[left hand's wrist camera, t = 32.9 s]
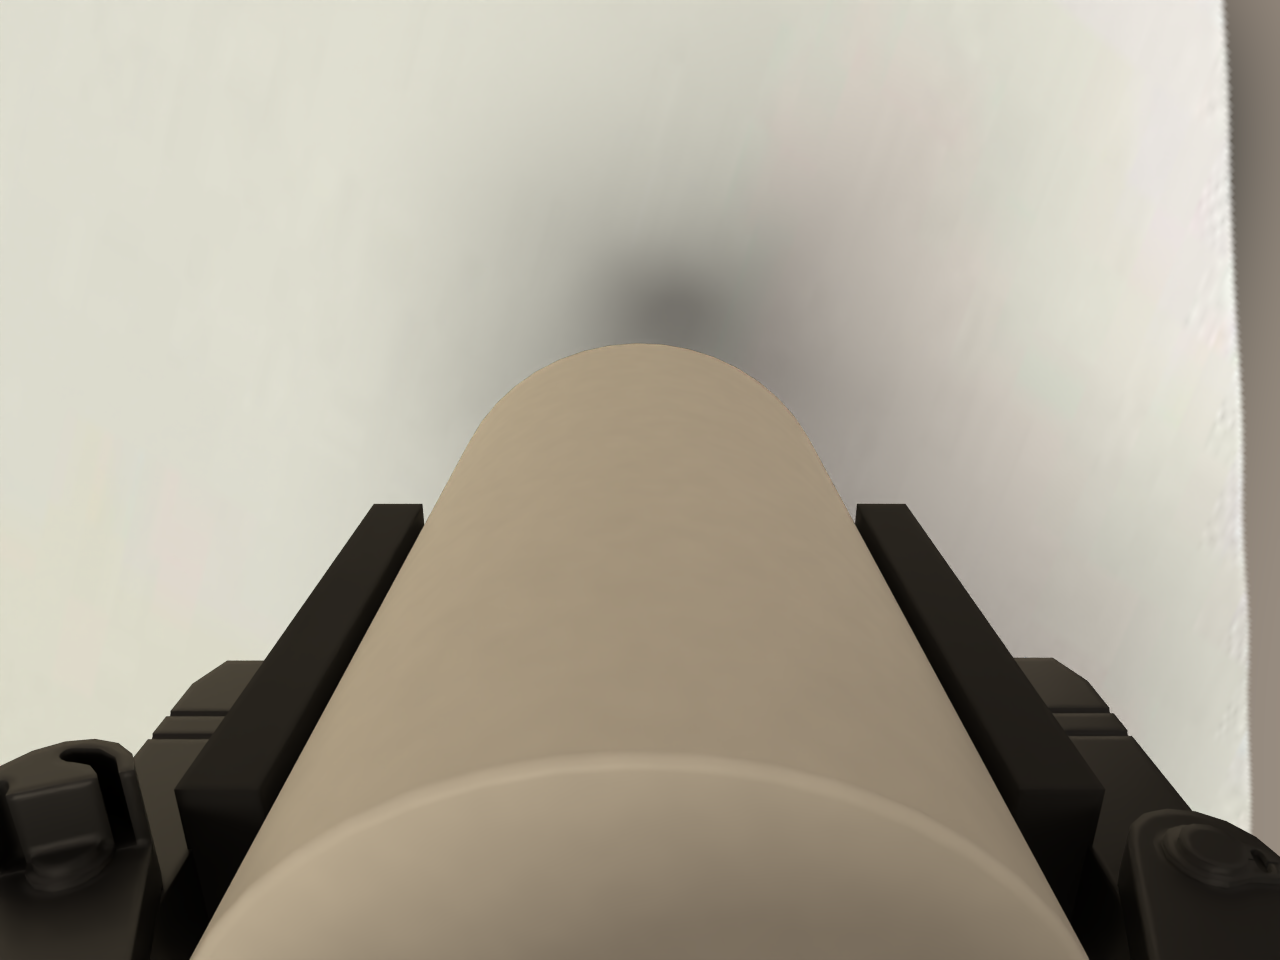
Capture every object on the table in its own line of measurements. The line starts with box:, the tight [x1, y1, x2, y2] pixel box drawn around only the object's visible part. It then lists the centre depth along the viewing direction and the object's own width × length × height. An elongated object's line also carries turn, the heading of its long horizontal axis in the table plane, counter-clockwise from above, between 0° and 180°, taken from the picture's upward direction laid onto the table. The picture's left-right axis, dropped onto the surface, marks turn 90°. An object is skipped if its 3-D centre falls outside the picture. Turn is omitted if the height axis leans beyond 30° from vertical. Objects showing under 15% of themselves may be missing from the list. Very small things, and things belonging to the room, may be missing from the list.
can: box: [190, 343, 1089, 960], centre depth 11 cm, size 7×7×11 cm
